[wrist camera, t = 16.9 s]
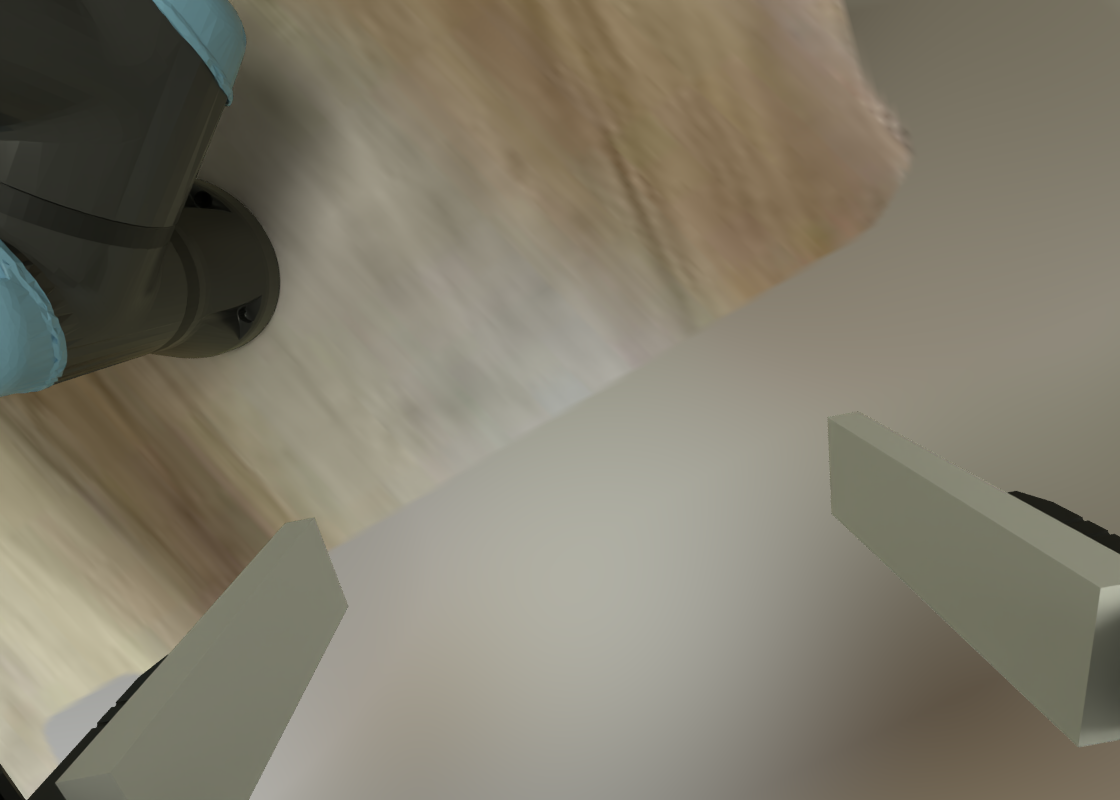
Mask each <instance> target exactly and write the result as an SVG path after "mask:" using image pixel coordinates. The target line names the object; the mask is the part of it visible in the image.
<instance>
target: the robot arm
mask: <svg viewBox="0 0 1120 800" xmlns="http://www.w3.org/2000/svg"><path fill="white" fill-rule="evenodd" d="M245 49H246V35H245V31H244V28H243V25H242V22H241V20H240V18H239V16H238V15H237V12H236V10H235V9H234V7H233V6H232V5H231V3H230V2H229V1H228V0H0V397H2V396H6V395H10V394H14V393H28V392H35V391H40V390H43V389H46V388H48V387H50V386H52V385H54V384H57V383H60V382H63V381H66V380H69V379H73V378H76V377H79V376H82V375H85V374H88V373H91V372H94V371H97V370H100V369H104V368H107V367H110V366H113V365H116V364H119V363H122V362H125V361H128V360H131V359H134V358H138V357H141V356H144V355H146V354H156V355H164V356H172V357H179V358H204V357H211V356H215V355H219V354H222V353H225V352H228V351H230V350H233V349H236V348H238V347H240V346H242V345H244V344H246V343H248V342H249V341H251V340H252V339H253V338H255V337H256V336H257V335H258V334H259V333H260V332H261V331H262V330H263V329H264V327H265V326H266V325H267V323H268V322H269V320H270V318H271V316H272V314H273V312H274V310H275V307H276V304H277V300H278V294H279V270H278V264H277V260H276V256H275V253H274V250H273V248H272V245H271V243H270V241H269V239H268V237H267V235H266V233H265V231H264V230H263V228H262V227H261V225H260V224H259V222H258V221H257V220H256V218H255V217H254V216H253V215H252V214H251V213H250V212H249V211H248V209H247V208H245V207H244V206H243V205H242V204H241V203H240V202H239V201H238V200H236V199H235V198H234V197H232V196H231V195H230V194H228V193H226V192H225V191H223V190H222V189H220V188H218V187H216V186H214V185H212V184H209V183H207V182H204V181H201V180H198V179H195V178H196V176H197V173H198V171H199V168H200V166H201V163H202V161H203V158H204V156H205V153H206V151H207V148H208V146H209V143H210V141H211V138H212V136H213V134H214V131H215V129H216V126H217V124H218V121H219V119H220V116H221V114H222V111H223V109H224V106H230V105H231V103H232V101H233V91H232V88H233V85H234V82H235V79H236V76H237V73H238V71H239V68H240V65H241V62H242V59H243V56H244V53H245ZM828 440H829V462H830V463H829V464H830V487H831V512H832V515H833V516H834V517H835V518H836V519H838V520H839V521H840V522H841V523H842V524H843V525H844V526H845V527H846V528H847V529H848V530H849V531H850V532H851V533H852V534H854V535H855V537H857V538H858V539H859V540H860V541H861V542H862V543H863V544H864V545H865V546H866V547H867V548H868V549H869V550H870V551H871V552H872V553H874V554H875V555H876V556H877V557H878V558H879V559H880V560H881V561H882V562H883V563H884V564H885V565H886V566H887V567H888V568H889V569H890V570H891V571H893V572H894V573H895V574H896V575H897V576H898V577H899V578H900V579H901V580H902V581H903V582H904V583H905V584H906V585H907V586H908V587H909V588H911V589H912V590H913V591H914V592H915V593H916V594H917V595H918V596H919V597H920V598H921V599H922V600H923V601H924V602H925V603H926V604H927V605H929V607H931V608H932V609H933V610H934V611H935V612H936V613H937V614H938V615H939V616H940V617H941V618H942V619H943V620H944V621H945V622H946V623H947V624H949V625H950V626H951V627H952V628H953V629H954V630H955V631H956V632H957V633H958V634H959V635H960V636H961V637H962V638H963V639H964V640H965V641H966V642H968V643H969V644H970V645H971V646H972V647H973V648H974V649H975V650H976V651H977V652H978V653H979V654H980V655H981V656H983V658H985V659H986V660H987V661H988V662H989V663H990V664H991V665H992V666H993V667H994V668H995V669H996V670H997V671H998V672H999V673H1000V674H1001V675H1002V676H1003V677H1005V678H1006V679H1007V680H1008V681H1009V682H1010V683H1011V684H1012V685H1013V686H1014V687H1015V688H1016V689H1017V690H1018V691H1019V692H1020V693H1022V694H1023V695H1024V696H1025V697H1026V698H1027V699H1028V700H1029V701H1030V702H1031V703H1032V704H1033V705H1034V706H1035V707H1036V708H1037V709H1038V710H1039V711H1040V712H1042V713H1043V714H1044V715H1045V716H1046V717H1047V718H1048V719H1049V720H1050V721H1051V722H1052V723H1053V724H1054V725H1055V726H1056V727H1057V728H1059V729H1060V730H1061V731H1062V732H1063V733H1064V734H1065V735H1066V736H1067V737H1068V738H1069V739H1070V740H1071V741H1072V742H1073V743H1074V744H1075V745H1076V746H1077V747H1082V746H1087V745H1094V744H1099V743H1105V742H1110V741H1115V740H1120V537H1119V536H1118V535H1116V534H1111V535H1110V534H1109V533H1108V530H1106V529H1104V528H1102V527H1100V526H1098V525H1096V524H1094V523H1092V522H1090V521H1084V520H1083V518H1082V517H1081V516H1079V515H1077V514H1075V513H1073V512H1071V511H1069V510H1067V509H1065V508H1063V507H1061V506H1059V505H1057V504H1056V503H1054V502H1051V501H1047V500H1045V499H1041V498H1038V497H1035V496H1031V495H1028V494H1025V493H1021V492H1018V491H1014V492H1008V493H1007V492H1004V491H1003V490H1001V489H999V488H997V487H996V486H994V485H992V484H990V483H988V482H986V481H985V480H983V479H981V478H979V477H977V476H975V475H974V474H972V473H970V472H968V471H966V470H965V469H963V468H961V467H959V466H957V465H955V464H954V463H952V462H950V461H948V460H946V459H944V458H943V457H941V456H939V455H937V454H935V453H933V452H932V451H930V450H928V449H926V448H924V447H922V446H921V445H919V444H917V443H915V442H913V441H911V440H910V439H908V438H906V437H904V436H902V435H900V434H899V433H897V432H895V431H893V430H891V429H890V428H887V427H886V426H884V425H882V424H880V423H879V422H877V421H875V420H873V419H871V418H869V417H868V416H866V415H864V414H862V413H860V412H858V411H857V412H852V413H847V414H842V415H837V416H832V417H828ZM347 608H348V604H347V602H346V599H345V597H344V594H343V591H342V589H341V586H340V583H339V581H338V578H337V576H336V573H335V570H334V568H333V565H332V563H331V560H330V557H329V554H328V552H327V549H326V547H325V544H324V541H323V539H322V536H321V533H320V531H319V528H318V526H317V523H316V520H315V518H309V519H304V520H299V521H294V522H289V523H285V524H284V525H283V526H282V527H281V528H280V529H279V531H278V532H277V533H276V534H275V535H274V536H273V537H272V539H271V540H270V541H269V542H268V543H267V544H266V545H265V546H264V548H263V549H262V550H261V551H260V552H259V553H258V554H257V555H256V557H255V558H254V559H253V560H252V561H251V562H250V563H249V564H248V566H247V567H246V568H245V569H244V570H243V571H242V572H241V574H240V575H239V576H238V577H237V578H236V579H235V580H234V581H233V583H232V584H231V585H230V586H229V587H228V588H227V589H226V590H225V592H224V593H223V594H222V595H221V596H220V597H219V598H218V600H217V601H216V602H215V603H214V604H213V605H212V606H211V607H210V609H209V610H208V611H207V612H206V613H205V614H204V615H203V616H202V618H201V619H200V620H199V621H198V622H197V623H196V624H195V625H194V627H193V628H192V629H191V630H190V631H189V632H188V633H187V635H186V636H185V637H184V638H183V639H182V640H181V641H180V642H179V644H178V645H177V646H176V647H175V648H174V649H173V650H172V651H171V653H170V654H169V655H166V656H165V657H164V658H163V659H161V660H160V661H159V662H158V663H156V664H155V665H154V666H152V667H151V668H150V669H149V670H147V671H146V672H145V673H144V674H142V675H141V676H140V677H138V679H137V680H136V681H135V682H134V683H133V684H132V685H131V686H130V687H129V688H128V690H127V691H126V692H125V693H124V694H123V695H122V696H121V697H120V698H119V700H118V701H117V702H116V706H115V707H111V708H110V710H108V712H107V713H106V714H105V715H104V716H103V717H102V718H101V719H100V720H99V722H98V723H97V727H96V728H93V729H91V730H90V732H89V733H88V734H87V735H86V736H85V737H84V738H83V739H82V740H81V741H80V742H79V744H78V745H77V746H76V747H75V748H74V749H73V750H72V751H71V752H70V753H69V755H68V756H67V757H66V758H65V759H64V760H63V761H62V762H61V763H60V764H59V766H58V767H57V768H56V769H55V770H54V771H53V772H52V773H51V774H50V775H49V777H48V778H47V779H46V780H45V781H44V782H43V783H42V784H41V785H40V786H39V788H38V789H37V790H36V791H35V792H34V793H33V794H32V795H31V796H30V797H29V799H28V800H249V798H250V796H251V794H252V792H253V790H254V788H255V786H256V784H257V783H258V781H259V779H260V777H261V775H262V773H263V771H264V769H265V767H266V765H267V763H268V761H269V759H270V757H271V755H272V753H273V751H274V750H275V748H276V746H277V744H278V741H279V740H280V738H281V736H282V734H283V732H284V730H285V728H286V726H287V724H288V722H289V720H290V719H291V716H292V715H293V713H294V711H295V709H296V707H297V705H298V703H299V701H300V699H301V697H302V695H303V693H304V691H305V689H306V687H307V686H308V684H309V682H310V680H311V678H312V676H313V674H314V672H315V670H316V668H317V666H318V664H319V662H320V660H321V658H322V656H323V654H324V653H325V651H326V649H327V647H328V645H329V643H330V641H331V639H332V637H333V635H334V633H335V631H336V629H337V627H338V625H339V623H340V621H341V620H342V618H343V616H344V614H345V612H346V610H347ZM0 800H25V798H24V797H23V795H22V794H21V793H20V791H19V790H18V788H17V787H16V785H15V784H14V783H13V781H12V780H11V778H10V777H9V775H8V774H7V773H6V771H5V770H4V768H3V767H2V766H1V764H0Z"/></svg>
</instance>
